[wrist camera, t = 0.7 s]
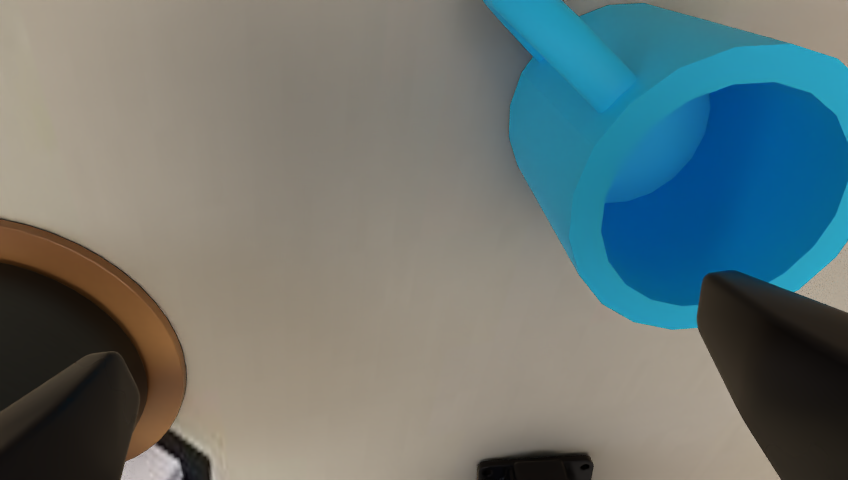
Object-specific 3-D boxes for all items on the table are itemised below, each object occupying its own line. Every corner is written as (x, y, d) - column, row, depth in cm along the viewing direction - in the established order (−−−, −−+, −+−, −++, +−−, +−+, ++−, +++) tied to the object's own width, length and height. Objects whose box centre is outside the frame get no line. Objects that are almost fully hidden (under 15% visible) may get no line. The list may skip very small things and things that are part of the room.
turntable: (214, 458, 30) (212, 466, 29) (-75, 475, 29) (-83, 484, 28) (140, 207, 22) (135, 212, 22) (-252, 222, 21) (-265, 228, 21)
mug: (756, 106, 22) (937, 192, 15) (595, 243, 24) (682, 372, 17) (560, -145, 17) (682, -199, 10) (389, 56, 20) (392, 125, 13)
